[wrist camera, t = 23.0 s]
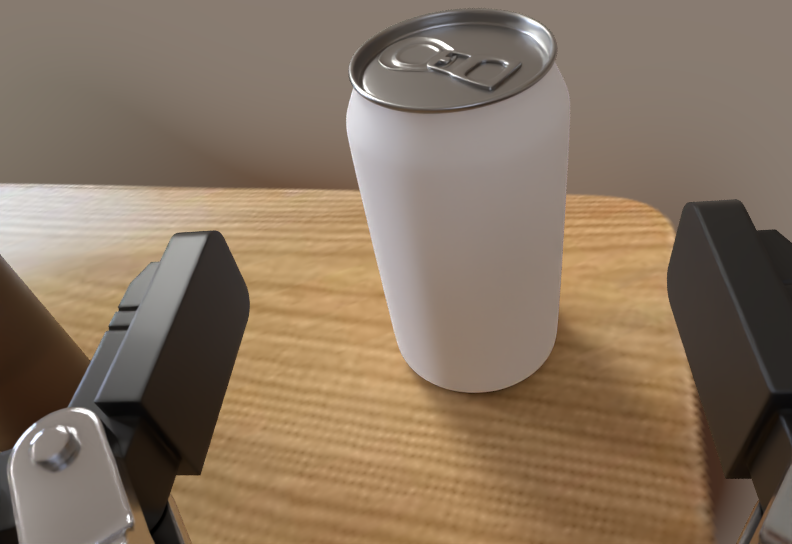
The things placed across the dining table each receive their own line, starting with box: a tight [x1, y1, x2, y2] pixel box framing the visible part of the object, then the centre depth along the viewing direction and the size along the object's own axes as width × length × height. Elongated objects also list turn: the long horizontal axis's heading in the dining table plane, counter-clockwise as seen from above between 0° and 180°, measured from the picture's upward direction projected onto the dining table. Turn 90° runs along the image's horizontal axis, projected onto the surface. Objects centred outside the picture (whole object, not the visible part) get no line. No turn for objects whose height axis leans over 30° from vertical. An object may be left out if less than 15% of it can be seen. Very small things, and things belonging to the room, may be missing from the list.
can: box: [346, 8, 570, 393], centre depth 21 cm, size 6×6×12 cm
